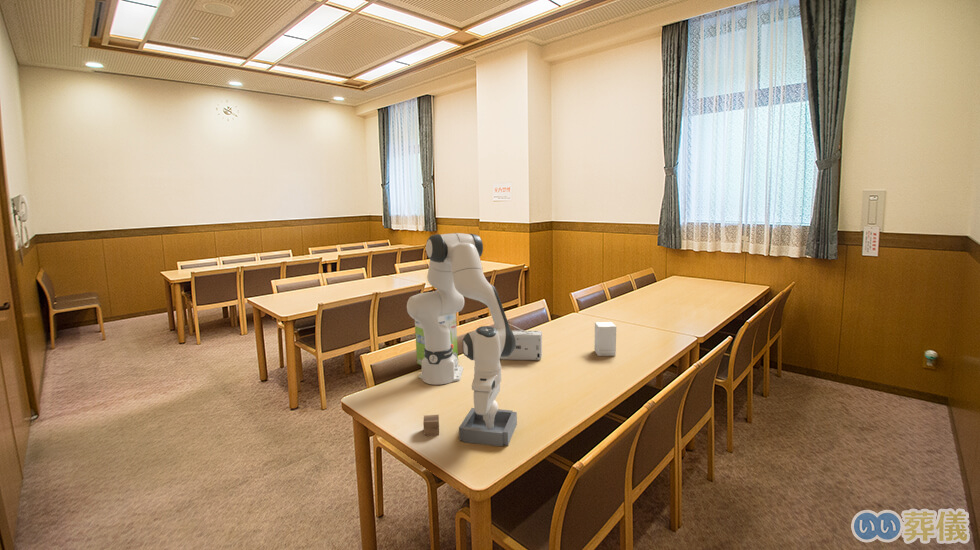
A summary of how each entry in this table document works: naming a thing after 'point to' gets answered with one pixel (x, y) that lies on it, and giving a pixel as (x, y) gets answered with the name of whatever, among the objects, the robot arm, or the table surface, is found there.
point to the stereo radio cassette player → (526, 345)
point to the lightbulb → (492, 415)
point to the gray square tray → (478, 433)
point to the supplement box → (605, 339)
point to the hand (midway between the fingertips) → (488, 415)
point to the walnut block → (431, 425)
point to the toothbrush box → (420, 341)
